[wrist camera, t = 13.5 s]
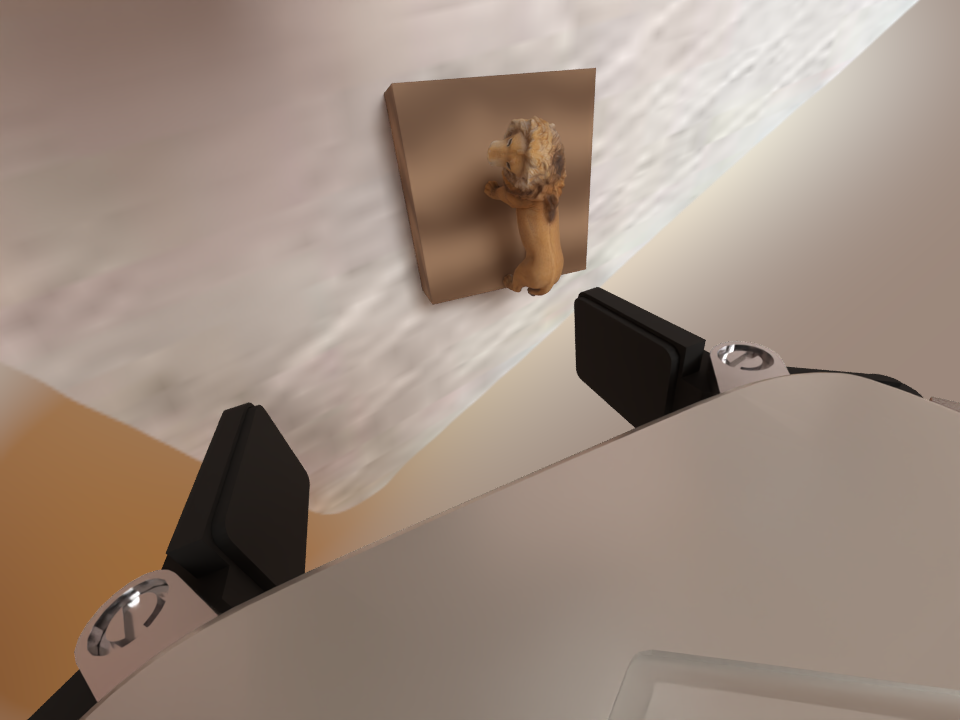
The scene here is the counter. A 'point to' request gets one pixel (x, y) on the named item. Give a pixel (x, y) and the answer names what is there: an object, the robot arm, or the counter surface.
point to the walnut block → (484, 172)
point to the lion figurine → (532, 198)
